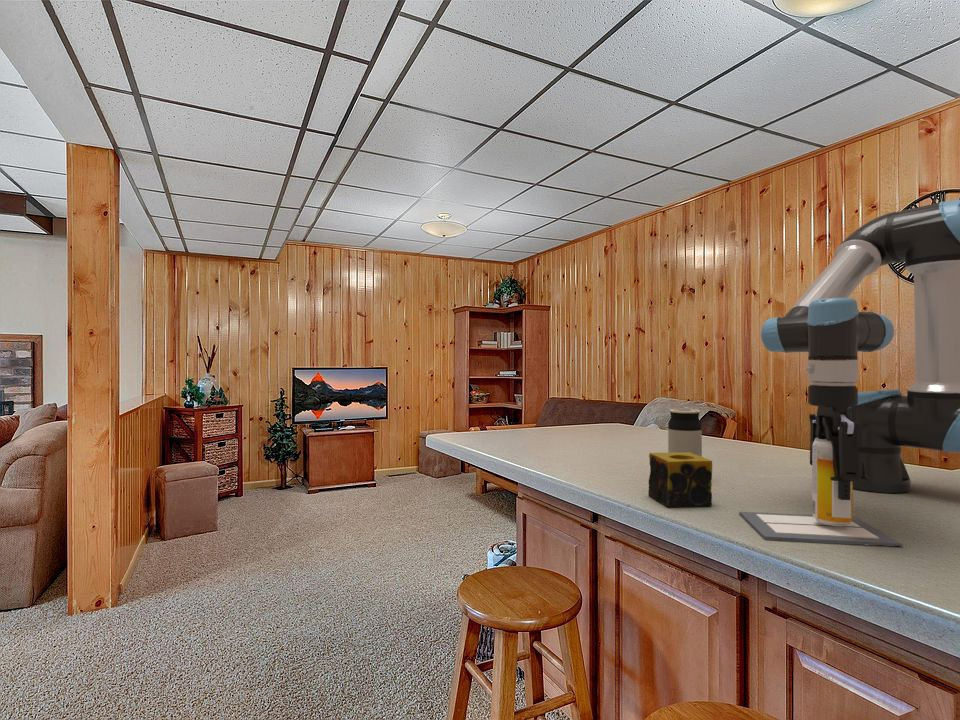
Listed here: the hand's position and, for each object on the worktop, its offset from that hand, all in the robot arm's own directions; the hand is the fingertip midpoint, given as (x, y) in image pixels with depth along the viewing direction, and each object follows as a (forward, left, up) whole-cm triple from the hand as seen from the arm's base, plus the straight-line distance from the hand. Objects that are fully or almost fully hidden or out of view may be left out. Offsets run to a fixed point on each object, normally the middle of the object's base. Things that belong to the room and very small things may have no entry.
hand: (832, 511), depth 97 cm
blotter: (+3, 0, -3) cm, 5 cm away
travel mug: (+19, -37, -4) cm, 42 cm away
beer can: (0, 0, -2) cm, 2 cm away
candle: (+24, -16, -4) cm, 29 cm away
